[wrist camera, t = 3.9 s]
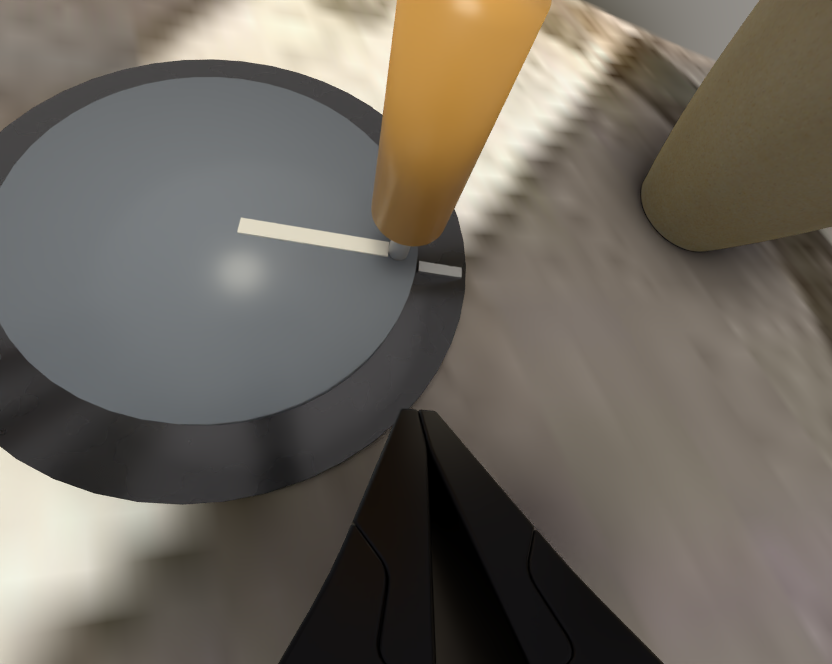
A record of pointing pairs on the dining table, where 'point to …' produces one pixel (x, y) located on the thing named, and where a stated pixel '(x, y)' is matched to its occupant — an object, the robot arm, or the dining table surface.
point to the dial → (246, 224)
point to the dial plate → (241, 442)
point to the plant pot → (752, 137)
